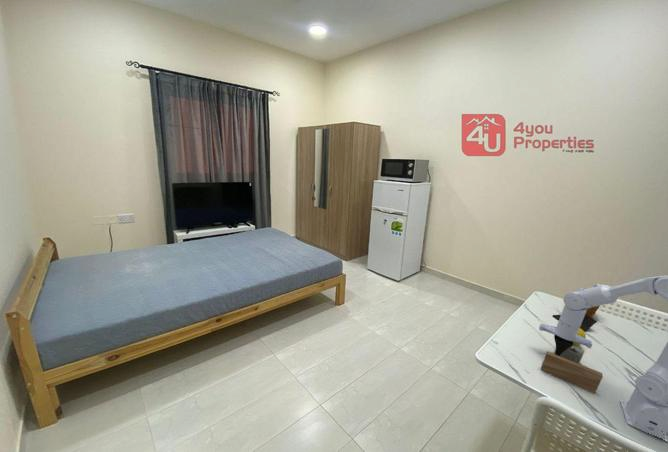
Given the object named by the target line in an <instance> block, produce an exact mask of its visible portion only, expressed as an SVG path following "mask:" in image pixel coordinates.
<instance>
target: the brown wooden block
mask: <svg viewBox="0 0 668 452" xmlns="http://www.w3.org/2000/svg"><path fill="white" fill-rule="evenodd" d="M540 371H542V372H544V373H545V374H546V373H547V374H549V375H551V376H553V377H554V378H555V377H556V378H557V379H560V380H561V381H564V382H567V383H570V384H572V385H574V386H576V387H579V388H581V389H582V390H586V391H587V392H589V393H593V394H596V392H597V390H598V388H599V385H600V383H601V381H602V379H603V378H604V376H603V372H600V371H598V370H596V369H592V368H590V367H588V366H585V365H583V364H581V363H579V364H578V363H575V362H573V361H570V360H568V359H565V358H563V357H560V356H558V355H555V353H552V352H550V351H546V354H545V355H544V358H543V361H542V364H541V366H540Z"/></svg>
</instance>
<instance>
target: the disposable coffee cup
mask: <svg viewBox="0 0 668 452" xmlns="http://www.w3.org/2000/svg"><path fill="white" fill-rule="evenodd" d="M582 288H584V289H588V288H589V287H585V286H584V287H582V286H581V287H580V288H579V289H582ZM579 289H578V290H577V291H579ZM600 307H601V305H600V306H595V307H591V308H588V309H587V311H586V313H585V314H587V315H588V316H590V317H592V318H594V315H595V314H596V313H597V311H598V310H599V308H600Z"/></svg>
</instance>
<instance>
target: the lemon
mask: <svg viewBox="0 0 668 452" xmlns="http://www.w3.org/2000/svg"><path fill="white" fill-rule="evenodd" d="M577 335H579V336H581V337H583V338H585V339H587V338H586V332H584V331H583V330H582V329H580V328H579V331H578V333H577ZM573 346H582V344H579V343H576V342H574V341H573Z"/></svg>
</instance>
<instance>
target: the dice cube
mask: <svg viewBox="0 0 668 452" xmlns="http://www.w3.org/2000/svg"><path fill="white" fill-rule="evenodd" d="M585 351H586V350H583V349H580V348H579V347H576V345H573V346H572V347H570V348H568V349H566V350H565V351H564V352H562V353H561V355H560V357H563V358H565V359H568V360H570V361H573V362H575V363H578V364H581V361H582V358H583V356H584V354H585Z"/></svg>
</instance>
